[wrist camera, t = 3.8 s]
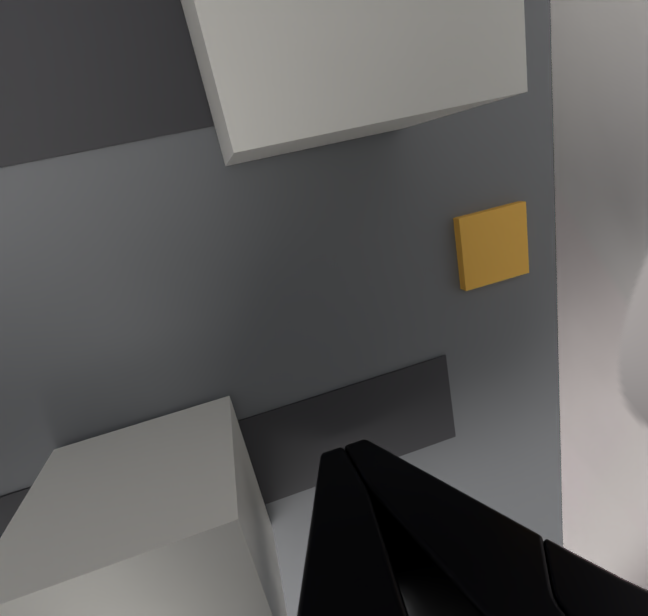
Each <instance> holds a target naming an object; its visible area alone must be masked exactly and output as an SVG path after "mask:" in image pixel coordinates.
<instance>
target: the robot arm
mask: <svg viewBox="0 0 648 616" xmlns="http://www.w3.org/2000/svg"><path fill="white" fill-rule="evenodd" d="M297 616H648V590H646V589H643V588H641V587H639V586H637V585H635V584H633V583H631V582H629V581H627V580H624V579H622V578H620V577H618V576H617V575H615V574H613V573H611V572H609V571H607V570H605V569H603V568H601V567H599V566H597V565H595V564H594V563H592V562H590V561H588V560H586V559H584V558H582V557H580V556H578V555H576V554H574V553H573V552H571V551H569V550H567V549H565V548H564V547H562V546H560V545H558V544H556V543H554V542H553V541H551V540H549V539H545V540H544V541H543V537H542V536H541V535H539V534H538V533H536V532H534V531H532V530H530V529H529V528H527V527H525V526H523V525H521V524H519V523H518V522H516V521H514V520H512V519H510V518H509V517H507V516H505V515H503V514H501V513H499V512H498V511H496V510H494V509H492V508H490V507H489V506H487V505H485V504H483V503H481V502H479V501H478V500H476V499H474V498H472V497H470V496H469V495H467V494H465V493H463V492H461V491H459V490H458V489H456V488H454V487H452V486H450V485H449V484H447V483H445V482H443V481H441V480H439V479H438V478H436V477H434V476H432V475H430V474H429V473H427V472H425V471H423V470H421V469H419V468H418V467H416V466H414V465H412V464H410V463H409V462H407V461H405V460H403V459H401V458H399V457H398V456H396V455H394V454H392V453H390V452H389V451H387V450H385V449H383V448H381V447H379V446H378V445H376V444H374V443H372V442H370V441H369V440H365V439H363V440H360V441H357V442H354V443H351V444H348V445H346V446H345V449H343V448H341V447H340V448H336V449H333V450H330V451H327V452H324V453H322V455H321V457H320V463H319V469H318V476H317V483H316V490H315V496H314V503H313V510H312V517H311V524H310V530H309V537H308V544H307V551H306V557H305V564H304V571H303V578H302V585H301V591H300V598H299V605H298V612H297Z"/></svg>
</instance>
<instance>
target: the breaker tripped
mask: <svg viewBox="0 0 648 616" xmlns="http://www.w3.org/2000/svg"><path fill="white" fill-rule="evenodd" d="M0 616H287V612H286V606H285V600H284V594H283V588H282V582H281V576H280V570H279V564H278V558H277V552H276V546H275V540H274V534H273V529H272V526H271V522H270V519H269V516H268V513H267V510H266V507H265V504H264V501H263V498H262V495H261V492H260V488H259V485H258V482H257V479H256V476H255V473H254V470H253V467H252V464H251V461H250V457H249V454H248V451H247V448H246V445H245V442H244V439H243V436H242V433H241V430H240V426H239V423H238V420H237V417H236V414H235V411H234V408H233V405H232V402H231V399H230V396H226V397H223V398H220V399H217V400H213V401H210V402H207V403H204V404H200V405H197V406H194V407H191V408H187V409H184V410H181V411H178V412H174V413H171V414H168V415H165V416H161V417H158V418H155V419H152V420H148V421H145V422H142V423H139V424H135V425H132V426H129V427H125V428H122V429H119V430H116V431H112V432H109V433H106V434H103V435H99V436H96V437H93V438H90V439H86V440H83V441H80V442H77V443H73V444H70V445H67V446H64V447H60V448H57V449H54V450H53V452H52V453H51V455H50V457H49V458H48V460H47V462H46V463H45V465H44V467H43V468H42V470H41V472H40V473H39V475H38V476H37V478H36V480H35V481H34V483H33V485H32V486H31V488H30V490H29V491H28V493H27V495H26V496H25V498H24V500H23V501H22V503H21V505H20V506H19V508H18V510H17V511H16V513H15V514H14V516H13V518H12V519H11V521H10V523H9V524H8V526H7V528H6V529H5V531H4V533H3V534H2V536H1V538H0Z"/></svg>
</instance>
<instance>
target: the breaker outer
mask: <svg viewBox="0 0 648 616" xmlns="http://www.w3.org/2000/svg"><path fill="white" fill-rule="evenodd" d="M181 4H182V7H183V11H184V15H185V18H186V22H187V26H188V29H189V33H190V37H191V41H192V44H193V48H194V52H195V55H196V59H197V63H198V66H199V70H200V74H201V78H202V81H203V85H204V89H205V92H206V96H207V100H208V103H209V107H210V111H211V115H212V118H213V122H214V126H215V129H216V133H217V137H218V140H219V144H220V148H221V152H222V155H223V159H224V163H225V166H229V165H234V164H239V163H243V162H248V161H253V160H257V159H262V158H267V157H272V156H276V155H281V154H286V153H290V152H295V151H300V150H304V149H309V148H314V147H318V146H323V145H328V144H333V143H337V142H342V141H347V140H351V139H356V138H361V137H365V136H370V135H375V134H379V133H384V132H389V131H393V130H398V129H403V128H406V127H410V126H413V125H416V124H420V123H423V122H427V121H430V120H433V119H437V118H440V117H444V116H447V115H450V114H454V113H457V112H461V111H464V110H467V109H471V108H474V107H477V106H481V105H484V104H488V103H491V102H494V101H498V100H501V99H505V98H508V97H511V96H515V95H518V94H522V93H525V92H528V87H527V62H526V38H525V13H524V0H181Z"/></svg>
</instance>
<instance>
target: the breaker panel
mask: <svg viewBox="0 0 648 616" xmlns="http://www.w3.org/2000/svg"><path fill="white" fill-rule="evenodd" d="M524 13H525V38H526V62H527V87H528V92H525V93H522V94H518V95H515V96H511V97H508V98H505V99H501V100H498V101H494V102H491V103H488V104H484V105H481V106H477V107H474V108H471V109H467V110H464V111H461V112H457V113H454V114H450V115H447V116H444V117H440V118H437V119H433V120H430V121H427V122H423V123H420V124H416V125H413V126H410V127H406V128H403V129H398V130H393V131H389V132H384V133H379V134H375V135H370V136H365V137H361V138H356V139H351V140H347V141H342V142H337V143H333V144H328V145H323V146H318V147H314V148H309V149H304V150H300V151H295V152H290V153H286V154H281V155H276V156H272V157H267V158H262V159H257V160H253V161H248V162H243V163H239V164H234V165H229V166H225V163H224V159H223V155H222V152H221V148H220V144H219V140H218V137H217V133H216V129H215V126H214V122H213V118H212V115H211V111H210V107H209V103H208V100H207V96H206V92H205V89H204V85H203V81H202V78H201V74H200V70H199V66H198V63H197V59H196V55H195V52H194V48H193V44H192V41H191V37H190V33H189V29H188V26H187V22H186V18H185V15H184V11H183V7H182V4H181V0H0V538H1V536H2V534H3V533H4V531H5V529H6V528H7V526H8V524H9V523H10V521H11V519H12V518H13V516H14V514H15V513H16V511H17V510H18V508H19V506H20V505H21V503H22V501H23V500H24V498H25V496H26V495H27V493H28V491H29V490H30V488H31V486H32V485H33V483H34V481H35V480H36V478H37V476H38V475H39V473H40V472H41V470H42V468H43V467H44V465H45V463H46V462H47V460H48V458H49V457H50V455H51V453H52V452H53V450H54V449H57V448H60V447H64V446H67V445H70V444H73V443H77V442H80V441H83V440H86V439H90V438H93V437H96V436H99V435H103V434H106V433H109V432H112V431H116V430H119V429H122V428H125V427H129V426H132V425H135V424H139V423H142V422H145V421H148V420H152V419H155V418H158V417H161V416H165V415H168V414H171V413H174V412H178V411H181V410H184V409H187V408H191V407H194V406H197V405H200V404H204V403H207V402H210V401H213V400H217V399H220V398H223V397H226V396H230V399H231V402H232V405H233V408H234V411H235V414H236V417H237V420H238V423H239V426H240V430H241V433H242V436H243V439H244V442H245V445H246V448H247V451H248V454H249V457H250V461H251V464H252V467H253V470H254V473H255V476H256V479H257V482H258V485H259V488H260V492H261V495H262V498H263V501H264V504H265V507H266V510H267V513H268V516H269V519H270V522H271V526H272V529H273V534H274V540H275V546H276V552H277V558H278V564H279V570H280V576H281V582H282V588H283V594H284V600H285V606H286V612H287V616H297V612H298V605H299V598H300V591H301V585H302V578H303V571H304V564H305V557H306V551H307V544H308V537H309V530H310V524H311V517H312V510H313V503H314V496H315V490H316V483H317V476H318V469H319V463H320V457H321V455H322V453H324V452H327V451H330V450H333V449H336V448H340V447H341V448H343V449H345V446H346V445H348V444H351V443H354V442H357V441H360V440H363V439H365V440H369V441H370V442H372V443H374V444H376V445H378V446H379V447H381V448H383V449H385V450H387V451H389V452H390V453H392V454H394V455H396V456H398V457H399V458H401V459H403V460H405V461H407V462H409V463H410V464H412V465H414V466H416V467H418V468H419V469H421V470H423V471H425V472H427V473H429V474H430V475H432V476H434V477H436V478H438V479H439V480H441V481H443V482H445V483H447V484H449V485H450V486H452V487H454V488H456V489H458V490H459V491H461V492H463V493H465V494H467V495H469V496H470V497H472V498H474V499H476V500H478V501H479V502H481V503H483V504H485V505H487V506H489V507H490V508H492V509H494V510H496V511H498V512H499V513H501V514H503V515H505V516H507V517H509V518H510V519H512V520H514V521H516V522H518V523H519V524H521V525H523V526H525V527H527V528H529V529H530V530H532V531H534V532H536V533H538V534H539V535H541V536H542V537H543V541H544V540H545V539H549V540H551V541H553V542H554V543H556V544H558V545H560V546H562V547H563V535H562V492H561V449H560V406H559V363H558V320H557V277H556V234H555V191H554V148H553V105H552V62H551V19H550V0H524Z"/></svg>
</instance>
